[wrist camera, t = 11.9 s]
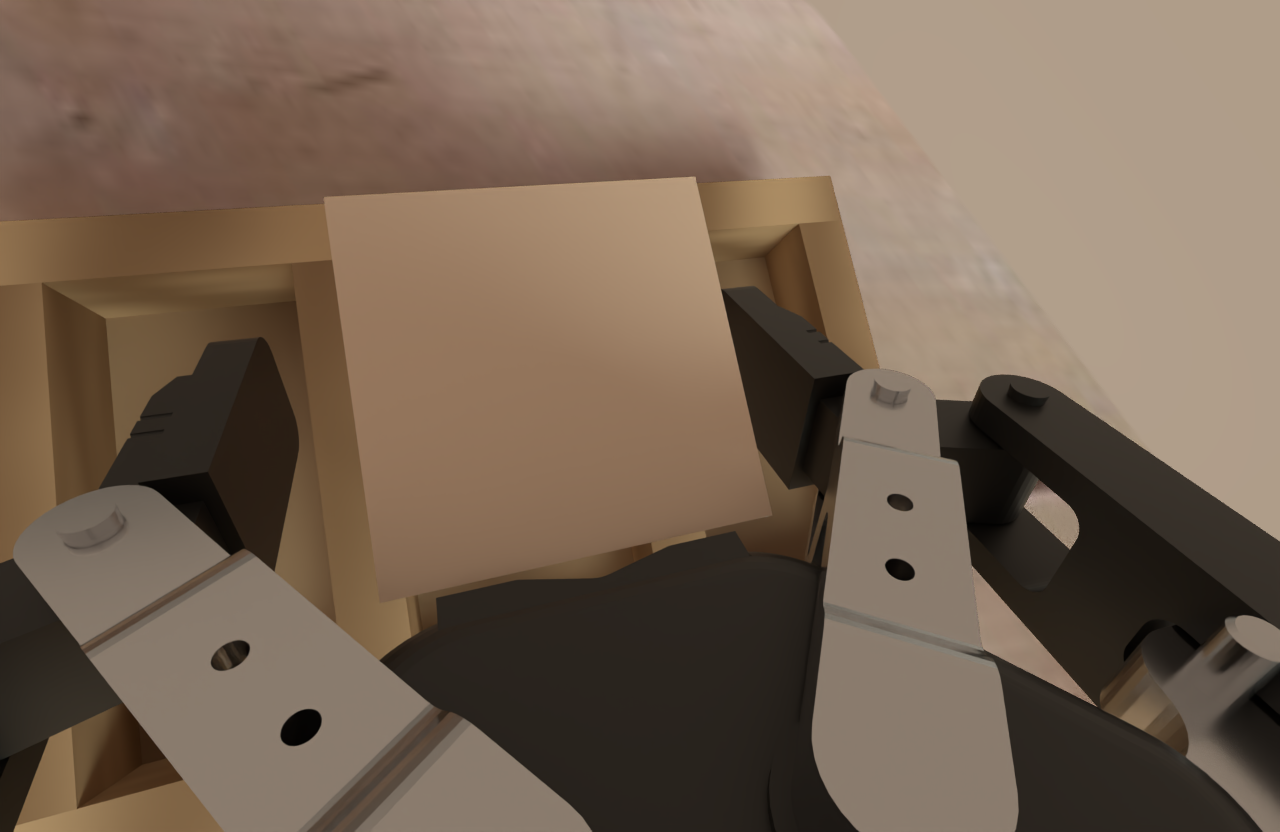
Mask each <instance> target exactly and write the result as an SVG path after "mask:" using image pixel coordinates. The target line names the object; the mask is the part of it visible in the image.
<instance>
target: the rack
mask: <svg viewBox="0 0 1280 832" xmlns="http://www.w3.org/2000/svg"><path fill="white" fill-rule="evenodd" d="M697 186H698V191H699V195H700V200H701V204H702V208H703V213H704V217H705V222H706V226H707V230H708V235H709V239H710V244H711V248H712V252H713V257H714V261H715V265H716V270H717V274H718V279H719V283H720V287H721V289H726V288H736V287H745V286H755V287H757V288H758V289H759V290H760V291H762V292H763V293H764V294H765V295H766V296H767V297H768V298H770V299H771V300H772V301H773V302H774V303H775V304H776V305H778V306H779V307H782V308H784V309H786V310H789V311H791V312H793V313H795V314H797V315H800V316H802V317H803V318H804V319H805V320H807V321H808V322H809V323H810V324H811V325H812V326H814V327H815V328H816V329H817V332H821V333H822V334H823V335H824V336H825V337H827V338H828V339H829V342H832V343H834V344H835V345H836V346H837V347H838V348H839V349H841V350H842V351H843V352H844V353H845V354H846V355H848V356H849V357H850V358H851V359H852V360H854V361H855V362H856V363H857V364H858V365H859V366H861V367H862V368H863V369H864V370H865V369H880V368H879V364H878V360H877V356H876V352H875V349H874V345H873V341H872V337H871V333H870V329H869V325H868V321H867V317H866V313H865V310H864V306H863V302H862V298H861V294H860V290H859V286H858V282H857V278H856V275H855V271H854V267H853V263H852V259H851V255H850V251H849V247H848V243H847V240H846V236H845V232H844V228H843V224H842V220H841V216H840V212H839V208H838V204H837V201H836V197H835V193H834V189H833V185H832V181H831V177H830V176H819V177H801V178H783V179H765V180H747V181H728V182H710V183H697ZM256 337H263V338H264V339H265V340H266V341H267V343H268V345H269V347H270V349H271V351H272V354H273V357H274V359H275V362H276V365H277V368H278V371H279V373H280V376H281V379H282V382H283V384H284V387H285V390H286V393H287V395H288V398H289V401H290V404H291V407H292V409H293V412H294V415H295V418H296V422H297V427H298V433H299V453H298V458H297V463H296V468H295V473H294V478H293V483H292V488H291V493H290V497H289V502H288V507H287V512H286V517H285V522H284V527H283V532H282V537H281V542H280V547H279V552H278V557H277V562H276V567H275V573H276V574H278V575H279V576H280V577H281V578H282V579H283V580H285V581H286V582H287V583H288V584H289V585H291V586H292V587H293V588H294V589H295V590H296V591H298V592H299V593H300V594H301V595H302V596H304V597H305V598H306V599H307V600H308V601H309V602H311V603H312V604H313V605H314V606H315V607H316V608H318V609H319V610H320V611H321V612H322V613H324V614H325V615H326V616H327V617H328V618H329V619H331V620H332V621H333V622H334V623H335V624H337V625H338V626H339V627H340V628H341V629H342V630H344V631H345V632H346V633H347V634H348V635H350V636H351V637H352V638H353V639H354V640H355V641H357V642H358V643H359V644H360V645H361V646H363V647H364V648H365V649H366V650H367V651H368V652H370V653H371V654H372V655H373V656H374V657H375V658H377V659H378V660H380V659H381V658H382V657H384V656H385V655H386V654H387V653H389V652H390V651H391V650H393V649H394V648H396V647H397V646H398V645H400V644H401V643H403V642H404V641H405V640H407V639H409V638H411V637H412V636H414V635H416V634H417V633H419V632H421V631H422V630H424V629H426V628H429V627H431V626H433V625H435V624H437V623H438V622H437V606H436V598H438V597H442V596H447V595H451V594H456V593H460V592H464V591H469V590H473V589H478V588H482V587H487V586H491V585H496V584H500V583H505V582H509V581H514V580H528V579H581V578H599V577H603V576H606V575H609V574H611V573H613V572H615V571H617V570H619V569H621V568H623V567H625V566H627V565H630V564H632V563H634V562H636V561H638V560H640V559H642V558H644V557H646V556H648V555H651V554H653V553H655V552H657V551H659V550H661V549H663V548H665V547H667V546H670V545H674V544H679V543H683V542H688V541H692V540H697V539H701V538H706V537H710V536H715V535H719V534H724V533H728V532H733V531H736V533H737V535H738V536H739V538H740V540H741V541H742V543H743V545H744V546H745V548H746V550H747V551H748V552H764V553H773V554H779V555H784V556H789V557H792V558H796V559H799V560H803V561H804V559H805V553H806V547H807V541H808V535H809V529H810V524H811V518H812V512H813V506H814V502H815V498H816V494H817V490H818V488H817V487H816V486H815V484H814V485H809V486H805V487H800V488H795V489H790V490H788V488H787V487H786V486H785V484H784V483H783V482H782V480H781V479H780V478H779V476H778V475H777V474H776V472H775V471H774V470H773V468H772V467H771V466H770V464H769V463H768V462H767V461H766V459H765V458H764V457H763V455H762V454H761V453H760V451H759V450H758V449H757V450H758V454H759V459H760V463H761V467H762V472H763V476H764V481H765V485H766V489H767V494H768V498H769V503H770V507H771V511H772V516H767V517H763V518H758V519H754V520H749V521H745V522H740V523H736V524H731V525H727V526H722V527H718V528H713V529H709V530H705V531H700V532H696V533H691V534H687V535H682V536H678V537H673V538H669V539H664V540H660V541H655V542H651V543H646V544H642V545H638V546H633V547H629V548H624V549H620V550H615V551H611V552H606V553H602V554H597V555H593V556H588V557H584V558H579V559H575V560H571V561H566V562H562V563H557V564H553V565H548V566H544V567H539V568H535V569H530V570H526V571H521V572H517V573H513V574H508V575H504V576H499V577H495V578H490V579H486V580H481V581H477V582H472V583H468V584H463V585H459V586H454V587H450V588H446V589H441V590H437V591H432V592H428V593H423V594H419V595H414V596H410V597H405V598H401V599H396V600H392V601H387V602H383V603H380V600H379V593H378V586H377V579H376V571H375V564H374V557H373V550H372V543H371V535H370V528H369V521H368V514H367V507H366V499H365V492H364V485H363V478H362V471H361V463H360V456H359V449H358V442H357V435H356V428H355V420H354V413H353V406H352V399H351V392H350V384H349V377H348V370H347V363H346V356H345V348H344V341H343V334H342V327H341V320H340V312H339V305H338V298H337V291H336V284H335V276H334V269H333V262H332V255H331V248H330V240H329V233H328V226H327V219H326V212H325V204H310V205H292V206H274V207H255V208H237V209H219V210H201V211H183V212H164V213H146V214H128V215H110V216H92V217H73V218H55V219H37V220H19V221H1V222H0V563H2V562H5V561H7V560H10V559H13V549H14V545H15V543H16V541H17V539H18V538H19V536H20V535H21V534H22V533H23V531H24V530H25V529H26V528H27V527H28V526H29V525H30V524H31V523H33V522H34V521H35V520H36V519H38V518H39V517H40V516H42V515H43V514H44V513H46V512H48V511H49V510H51V509H53V508H54V507H56V506H58V505H60V504H62V503H64V502H66V501H68V500H70V499H72V498H75V497H77V496H80V495H83V494H85V493H88V492H91V491H95V490H98V489H99V487H100V485H101V483H102V482H103V480H104V478H105V477H106V475H107V473H108V471H109V470H110V468H111V466H112V464H113V463H114V461H115V459H116V457H117V456H118V454H119V452H120V450H121V449H122V447H123V445H124V443H125V442H126V440H127V439H128V438H131V436H130V433H131V431H132V429H133V428H134V426H135V424H136V422H137V421H140V415H141V414H142V412H143V410H144V408H145V407H146V405H147V403H148V401H149V400H150V398H151V396H152V395H154V394H155V393H156V392H158V391H159V390H160V389H161V388H163V387H164V386H165V385H167V384H168V383H169V382H171V381H172V380H173V379H174V378H176V377H177V376H185V375H192V374H193V372H194V370H195V368H196V366H197V364H198V362H199V360H200V358H201V356H202V354H203V352H204V350H205V348H206V346H207V344H208V343H210V342H218V341H228V340H237V339H246V338H256ZM14 832H224V831H223V829H222V828H221V827H220V826H219V824H218V823H217V822H216V820H215V819H214V818H213V817H212V815H211V814H210V813H209V812H208V810H207V809H206V808H205V806H204V805H203V804H202V803H201V801H200V800H199V799H198V797H197V796H196V795H195V794H194V792H193V791H192V790H191V789H190V787H189V786H188V785H187V783H186V782H185V781H184V780H183V778H182V777H181V776H180V774H179V773H178V772H177V771H176V769H175V768H174V767H173V765H172V764H171V763H170V762H169V760H168V759H167V758H166V757H165V755H164V754H163V753H162V751H161V750H160V749H159V748H158V746H157V745H156V744H155V742H154V741H153V740H152V739H151V737H150V736H149V735H148V734H147V732H146V731H145V730H144V728H143V727H142V726H141V725H140V723H139V722H138V721H137V719H136V718H135V717H134V716H133V714H132V713H131V712H130V711H129V709H128V708H127V707H126V705H125V704H124V703H121V704H119V705H117V706H115V707H113V708H111V709H108V710H106V711H104V712H102V713H100V714H98V715H96V716H94V717H92V718H89V719H87V720H85V721H83V722H81V723H79V724H77V725H75V726H72V727H70V728H68V729H66V730H64V731H62V732H60V733H58V734H55V735H53V736H51V737H49V740H48V742H47V745H46V748H45V750H44V753H43V755H42V758H41V761H40V763H39V766H38V769H37V771H36V774H35V776H34V779H33V782H32V784H31V787H30V790H29V792H28V795H27V797H26V800H25V803H24V805H23V808H22V811H21V813H20V816H19V818H18V821H17V824H16V826H15V829H14Z"/></svg>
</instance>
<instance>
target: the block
mask: <svg viewBox="0 0 1280 832" xmlns="http://www.w3.org/2000/svg"><path fill="white" fill-rule="evenodd" d="M324 204H325V212H326V219H327V226H328V233H329V240H330V248H331V255H332V262H333V269H334V276H335V284H336V291H337V298H338V305H339V312H340V320H341V327H342V334H343V341H344V348H345V356H346V363H347V370H348V377H349V384H350V392H351V399H352V406H353V413H354V420H355V428H356V435H357V442H358V449H359V456H360V463H361V471H362V478H363V485H364V492H365V499H366V507H367V514H368V521H369V528H370V535H371V543H372V550H373V557H374V564H375V571H376V579H377V586H378V593H379V600H380V603H383V602H387V601H392V600H396V599H401V598H405V597H410V596H414V595H419V594H423V593H428V592H432V591H437V590H441V589H446V588H450V587H454V586H459V585H463V584H468V583H472V582H477V581H481V580H486V579H490V578H495V577H499V576H504V575H508V574H513V573H517V572H521V571H526V570H530V569H535V568H539V567H544V566H548V565H553V564H557V563H562V562H566V561H571V560H575V559H579V558H584V557H588V556H593V555H597V554H602V553H606V552H611V551H615V550H620V549H624V548H629V547H633V546H638V545H642V544H646V543H651V542H655V541H660V540H664V539H669V538H673V537H678V536H682V535H687V534H691V533H696V532H700V531H705V530H709V529H713V528H718V527H722V526H727V525H731V524H736V523H740V522H745V521H749V520H754V519H758V518H763V517H767V516H772V511H771V507H770V503H769V498H768V494H767V489H766V485H765V481H764V476H763V472H762V467H761V463H760V459H759V454H758V450H757V445H756V441H755V437H754V432H753V428H752V424H751V419H750V415H749V410H748V406H747V402H746V397H745V393H744V388H743V384H742V380H741V375H740V371H739V366H738V362H737V358H736V353H735V349H734V345H733V340H732V336H731V331H730V327H729V323H728V318H727V314H726V309H725V305H724V301H723V296H722V292H721V287H720V283H719V279H718V274H717V270H716V265H715V261H714V257H713V252H712V248H711V244H710V239H709V235H708V230H707V226H706V222H705V217H704V213H703V208H702V204H701V200H700V195H699V191H698V186H697V182H696V178H695V177H677V178H659V179H641V180H623V181H604V182H586V183H568V184H550V185H531V186H513V187H495V188H477V189H458V190H440V191H422V192H404V193H386V194H367V195H349V196H331V197H324Z"/></svg>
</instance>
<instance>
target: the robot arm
mask: <svg viewBox="0 0 1280 832" xmlns="http://www.w3.org/2000/svg"><path fill="white" fill-rule="evenodd" d="M721 292H722V296H723V301H724V305H725V309H726V314H727V318H728V323H729V327H730V331H731V336H732V340H733V345H734V349H735V353H736V358H737V362H738V366H739V371H740V375H741V380H742V384H743V388H744V393H745V397H746V402H747V406H748V410H749V415H750V419H751V424H752V428H753V432H754V437H755V441H756V445H757V449H758V450H759V451H760V453H761V454H762V455H763V457H764V458H765V459H766V461H767V462H768V463H769V464H770V466H771V467H772V468H773V470H774V471H775V472H776V474H777V475H778V476H779V478H780V479H781V480H782V482H783V483H784V484H785V486H786V487H787V488H788V490H790V489H795V488H800V487H805V486H809V485H814V484H815V486H816V487H817V488H818V490H817V494H816V498H815V502H814V506H813V512H812V518H811V524H810V529H809V535H808V541H807V547H806V553H805V559H804V561H803V560H799V559H796V558H792V557H789V556H784V555H779V554H773V553H764V552H748V551H747V550H746V548H745V546H744V545H743V543H742V541H741V540H740V538H739V536H738V535H737V533H736V531H733V532H728V533H724V534H719V535H715V536H710V537H706V538H701V539H697V540H692V541H688V542H683V543H679V544H674V545H670V546H667V547H665V548H663V549H661V550H659V551H657V552H655V553H653V554H651V555H648V556H646V557H644V558H642V559H640V560H638V561H636V562H634V563H632V564H630V565H627V566H625V567H623V568H621V569H619V570H617V571H615V572H613V573H611V574H609V575H606V576H603V577H599V578H581V579H528V580H514V581H509V582H505V583H500V584H496V585H491V586H487V587H482V588H478V589H473V590H469V591H464V592H460V593H456V594H451V595H447V596H442V597H438V598H436V606H437V622H438V623H437V624H435V625H433V626H431V627H429V628H426V629H424V630H422V631H421V632H419V633H417V634H416V635H414V636H412V637H411V638H409V639H407V640H405V641H404V642H403V643H401V644H400V645H398V646H397V647H396V648H394V649H393V650H391V651H390V652H389V653H387V654H386V655H385V656H384V657H382V658H381V659H380V660H378V659H377V658H375V657H374V656H373V655H372V654H371V653H370V652H368V651H367V650H366V649H365V648H364V647H363V646H361V645H360V644H359V643H358V642H357V641H355V640H354V639H353V638H352V637H351V636H350V635H348V634H347V633H346V632H345V631H344V630H342V629H341V628H340V627H339V626H338V625H337V624H335V623H334V622H333V621H332V620H331V619H329V618H328V617H327V616H326V615H325V614H324V613H322V612H321V611H320V610H319V609H318V608H316V607H315V606H314V605H313V604H312V603H311V602H309V601H308V600H307V599H306V598H305V597H304V596H302V595H301V594H300V593H299V592H298V591H296V590H295V589H294V588H293V587H292V586H291V585H289V584H288V583H287V582H286V581H285V580H283V579H282V578H281V577H280V576H279V575H278V574H276V573H275V567H276V562H277V557H278V552H279V547H280V542H281V537H282V532H283V527H284V522H285V517H286V512H287V507H288V502H289V497H290V493H291V488H292V483H293V478H294V473H295V468H296V463H297V458H298V453H299V433H298V427H297V422H296V418H295V415H294V412H293V409H292V407H291V404H290V401H289V398H288V395H287V393H286V390H285V387H284V384H283V382H282V379H281V376H280V373H279V371H278V368H277V365H276V362H275V359H274V357H273V354H272V351H271V349H270V347H269V345H268V343H267V341H266V340H265V339H264V338H263V337H256V338H246V339H237V340H228V341H218V342H210V343H208V344H207V346H206V348H205V350H204V352H203V354H202V356H201V358H200V360H199V362H198V364H197V366H196V368H195V370H194V372H193V374H192V375H185V376H177V377H176V378H174V379H173V380H172V381H171V382H169V383H168V384H167V385H165V386H164V387H163V388H161V389H160V390H159V391H158V392H156V393H155V394H154V395H152V396H151V398H150V400H149V401H148V403H147V405H146V407H145V408H144V410H143V412H142V414H141V415H140V421H137V422H136V424H135V426H134V428H133V429H132V431H131V433H130V436H131V438H128V439H127V440H126V442H125V443H124V445H123V447H122V449H121V450H120V452H119V454H118V456H117V457H116V459H115V461H114V463H113V464H112V466H111V468H110V470H109V471H108V473H107V475H106V477H105V478H104V480H103V482H102V483H101V485H100V487H99V489H98V490H95V491H91V492H88V493H85V494H83V495H80V496H77V497H75V498H72V499H70V500H68V501H66V502H64V503H62V504H60V505H58V506H56V507H54V508H53V509H51V510H49V511H48V512H46V513H44V514H43V515H42V516H40V517H39V518H38V519H36V520H35V521H34V522H33V523H31V524H30V525H29V526H28V527H27V528H26V529H25V530H24V531H23V533H22V534H21V535H20V536H19V538H18V539H17V541H16V543H15V545H14V549H13V559H10V560H7V561H5V562H2V563H0V832H14V829H15V826H16V824H17V821H18V818H19V816H20V813H21V811H22V808H23V805H24V803H25V800H26V797H27V795H28V792H29V790H30V787H31V784H32V782H33V779H34V776H35V774H36V771H37V769H38V766H39V763H40V761H41V758H42V755H43V753H44V750H45V748H46V745H47V742H48V740H49V737H51V736H53V735H55V734H58V733H60V732H62V731H64V730H66V729H68V728H70V727H72V726H75V725H77V724H79V723H81V722H83V721H85V720H87V719H89V718H92V717H94V716H96V715H98V714H100V713H102V712H104V711H106V710H108V709H111V708H113V707H115V706H117V705H119V704H121V703H124V704H125V705H126V707H127V708H128V709H129V711H130V712H131V713H132V714H133V716H134V717H135V718H136V719H137V721H138V722H139V723H140V725H141V726H142V727H143V728H144V730H145V731H146V732H147V734H148V735H149V736H150V737H151V739H152V740H153V741H154V742H155V744H156V745H157V746H158V748H159V749H160V750H161V751H162V753H163V754H164V755H165V757H166V758H167V759H168V760H169V762H170V763H171V764H172V765H173V767H174V768H175V769H176V771H177V772H178V773H179V774H180V776H181V777H182V778H183V780H184V781H185V782H186V783H187V785H188V786H189V787H190V789H191V790H192V791H193V792H194V794H195V795H196V796H197V797H198V799H199V800H200V801H201V803H202V804H203V805H204V806H205V808H206V809H207V810H208V812H209V813H210V814H211V815H212V817H213V818H214V819H215V820H216V822H217V823H218V824H219V826H220V827H221V828H222V829H223V831H224V832H1280V541H1278V540H1277V539H1275V538H1274V537H1272V536H1271V535H1269V534H1268V533H1266V532H1265V531H1263V530H1262V529H1260V528H1259V527H1258V526H1256V525H1255V524H1253V523H1252V522H1250V521H1249V520H1247V519H1246V518H1244V517H1243V516H1242V515H1240V514H1239V513H1237V512H1236V511H1234V510H1233V509H1231V508H1230V507H1228V506H1227V505H1225V504H1224V503H1222V502H1221V501H1220V500H1218V499H1217V498H1215V497H1214V496H1212V495H1210V494H1209V493H1208V492H1206V491H1205V490H1203V489H1201V488H1200V487H1199V486H1197V485H1196V484H1194V483H1193V482H1192V481H1190V480H1189V479H1187V478H1186V477H1184V476H1183V475H1181V474H1180V473H1178V472H1177V471H1176V470H1174V469H1172V468H1171V467H1170V466H1168V465H1167V464H1165V463H1164V462H1162V461H1161V460H1159V459H1158V458H1156V457H1155V456H1154V455H1152V454H1151V453H1149V452H1148V451H1146V450H1145V449H1143V448H1142V447H1140V446H1139V445H1137V444H1136V443H1135V442H1133V441H1132V440H1130V439H1129V438H1127V437H1126V436H1124V435H1123V434H1121V433H1120V432H1118V431H1117V430H1115V429H1114V428H1113V427H1111V426H1110V425H1108V424H1107V423H1105V422H1104V421H1102V420H1101V419H1099V418H1098V417H1096V416H1095V415H1093V414H1092V413H1091V412H1089V411H1088V410H1086V409H1085V408H1083V407H1082V406H1080V405H1079V404H1077V403H1076V402H1074V401H1073V400H1071V399H1070V398H1069V397H1067V396H1066V395H1064V394H1063V393H1061V392H1060V391H1058V390H1056V389H1055V388H1053V387H1051V386H1049V385H1047V384H1044V383H1042V382H1039V381H1036V380H1033V379H1030V378H1026V377H1021V376H1015V375H994V376H990V377H987V378H985V379H984V380H982V382H981V383H980V386H979V388H978V390H977V393H976V395H975V398H974V400H973V401H952V400H936V399H935V395H934V393H933V392H932V391H931V389H930V388H929V387H928V386H926V385H925V384H924V383H922V382H921V381H919V380H917V379H916V378H914V377H911V376H909V375H906V374H903V373H900V372H897V371H892V370H886V369H865V370H864V369H863V368H862V367H861V366H859V365H858V364H857V363H856V362H855V361H854V360H852V359H851V358H850V357H849V356H848V355H846V354H845V353H844V352H843V351H842V350H841V349H839V348H838V347H837V346H836V345H835V344H834V343H832V342H829V339H828V338H827V337H825V336H824V335H823V334H822V333H821V332H817V329H816V328H815V327H814V326H812V325H811V324H810V323H809V322H808V321H807V320H805V319H804V318H803V317H802V316H800V315H797V314H795V313H793V312H791V311H789V310H786V309H784V308H782V307H779V306H778V305H776V304H775V303H774V302H773V301H772V300H771V299H770V298H768V297H767V296H766V295H765V294H764V293H763V292H762V291H760V290H759V289H758V288H757V287H755V286H745V287H736V288H726V289H721ZM1038 479H1039V480H1040V481H1042V482H1043V483H1044V484H1045V485H1046V486H1047V487H1049V488H1050V489H1051V490H1052V491H1053V492H1054V493H1056V494H1057V495H1058V496H1059V497H1060V498H1062V499H1063V500H1064V501H1065V502H1066V503H1067V504H1068V505H1069V506H1070V507H1071V508H1072V509H1073V510H1074V512H1075V514H1076V516H1077V518H1078V522H1079V535H1078V538H1077V540H1076V542H1075V543H1074V545H1073V546H1072V548H1071V549H1068V548H1067V547H1066V546H1065V545H1064V544H1063V543H1062V542H1061V541H1060V540H1059V539H1058V538H1057V537H1055V536H1054V535H1053V534H1052V533H1051V532H1050V531H1049V530H1048V529H1047V528H1046V527H1045V526H1044V525H1043V524H1041V523H1040V522H1039V521H1038V520H1037V519H1036V518H1035V517H1034V516H1033V515H1032V514H1031V513H1030V512H1028V511H1027V510H1026V509H1025V508H1024V505H1025V503H1026V502H1027V500H1028V498H1029V496H1030V494H1031V492H1032V491H1033V489H1034V487H1035V485H1036V483H1037V481H1038ZM972 566H973V567H974V568H975V569H976V570H977V572H978V573H979V574H980V575H981V576H982V577H983V578H984V579H985V581H986V582H987V583H988V584H989V585H990V586H991V587H992V588H993V590H994V591H995V592H996V593H997V594H998V595H999V596H1000V597H1001V599H1002V600H1003V601H1004V602H1005V603H1006V604H1007V605H1008V606H1009V608H1010V609H1011V610H1012V611H1013V612H1014V613H1015V614H1016V615H1017V617H1018V618H1019V619H1020V620H1021V621H1022V622H1023V623H1024V624H1025V626H1026V627H1027V628H1028V629H1029V630H1030V631H1031V632H1032V633H1033V635H1034V636H1035V637H1036V638H1037V639H1038V640H1039V641H1040V642H1041V644H1042V645H1043V646H1044V647H1045V648H1046V649H1047V650H1048V651H1049V653H1050V654H1051V655H1052V656H1053V657H1054V658H1055V659H1056V661H1057V662H1058V663H1059V664H1060V665H1061V666H1062V667H1063V668H1064V670H1065V671H1066V672H1067V673H1068V674H1069V675H1070V676H1071V677H1072V679H1073V680H1074V681H1075V682H1076V683H1077V684H1078V685H1079V686H1080V688H1081V689H1082V690H1083V691H1084V692H1085V693H1086V694H1087V695H1088V697H1089V698H1090V699H1091V700H1092V701H1093V702H1094V703H1095V704H1096V706H1097V707H1096V706H1094V705H1092V704H1090V703H1088V702H1086V701H1084V700H1082V699H1080V698H1078V697H1076V696H1074V695H1072V694H1070V693H1068V692H1066V691H1064V690H1062V689H1060V688H1058V687H1056V686H1054V685H1052V684H1050V683H1048V682H1047V681H1045V680H1043V679H1041V678H1039V677H1037V676H1035V675H1033V674H1031V673H1029V672H1027V671H1025V670H1023V669H1021V668H1019V667H1017V666H1015V665H1013V664H1011V663H1009V662H1007V661H1005V660H1003V659H1001V658H999V657H997V656H995V655H993V654H991V653H989V652H987V651H985V650H983V647H982V644H981V638H980V630H979V622H978V614H977V606H976V598H975V590H974V581H973V573H972Z"/></svg>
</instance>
